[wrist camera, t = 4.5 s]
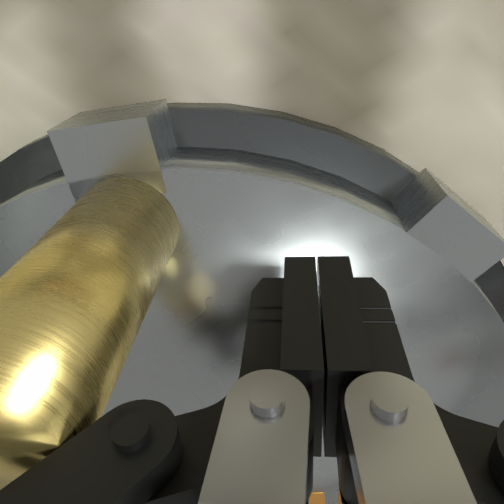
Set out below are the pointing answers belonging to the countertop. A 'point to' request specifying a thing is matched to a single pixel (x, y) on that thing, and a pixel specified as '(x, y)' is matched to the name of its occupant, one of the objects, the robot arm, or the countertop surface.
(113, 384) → the sprocket
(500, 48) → the countertop surface
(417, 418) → the robot arm
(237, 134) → the plate
